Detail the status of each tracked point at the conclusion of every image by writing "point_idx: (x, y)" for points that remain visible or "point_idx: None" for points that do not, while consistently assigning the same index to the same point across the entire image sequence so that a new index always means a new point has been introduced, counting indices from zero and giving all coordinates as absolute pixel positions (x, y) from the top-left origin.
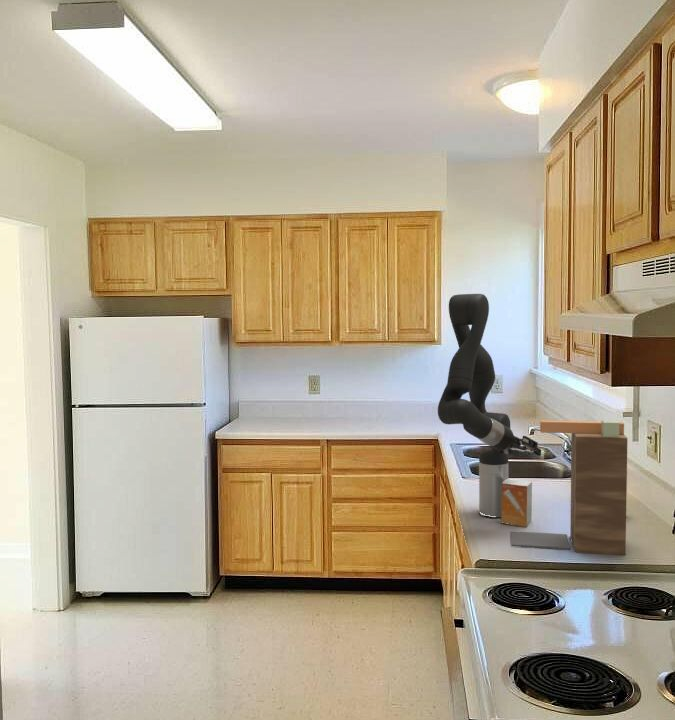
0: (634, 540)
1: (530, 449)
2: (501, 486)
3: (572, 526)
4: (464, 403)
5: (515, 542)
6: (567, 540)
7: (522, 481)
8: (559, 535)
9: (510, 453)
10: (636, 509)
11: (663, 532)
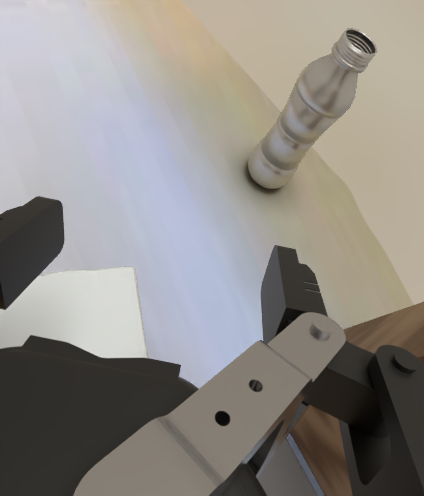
0: (365, 313)
1: (306, 406)
2: None
3: (322, 440)
4: None
5: None
6: (286, 444)
7: (93, 291)
8: None
9: (5, 309)
10: (269, 117)
11: (368, 232)
